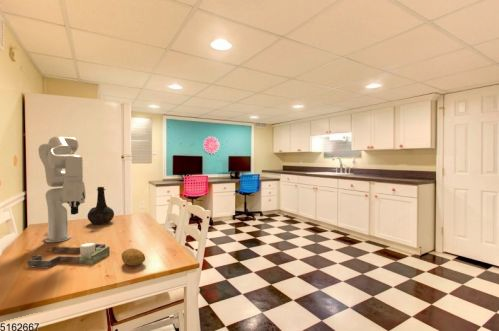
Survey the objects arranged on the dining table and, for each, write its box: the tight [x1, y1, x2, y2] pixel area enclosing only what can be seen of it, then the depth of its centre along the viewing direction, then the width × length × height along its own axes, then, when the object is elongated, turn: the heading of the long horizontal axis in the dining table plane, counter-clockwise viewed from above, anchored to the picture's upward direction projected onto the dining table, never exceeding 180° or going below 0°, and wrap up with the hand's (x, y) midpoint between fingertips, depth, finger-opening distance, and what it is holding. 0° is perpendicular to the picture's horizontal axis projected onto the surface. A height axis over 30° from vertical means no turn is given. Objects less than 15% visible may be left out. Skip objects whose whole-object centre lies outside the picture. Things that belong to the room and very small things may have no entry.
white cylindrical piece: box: [79, 242, 97, 257], centre depth 131 cm, size 7×7×7 cm
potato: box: [121, 248, 146, 267], centre depth 124 cm, size 9×13×7 cm
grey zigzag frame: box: [27, 243, 111, 269], centre depth 132 cm, size 32×24×4 cm
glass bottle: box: [87, 186, 115, 226], centre depth 198 cm, size 18×18×28 cm
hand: (74, 213), depth 137 cm, fingers closed
